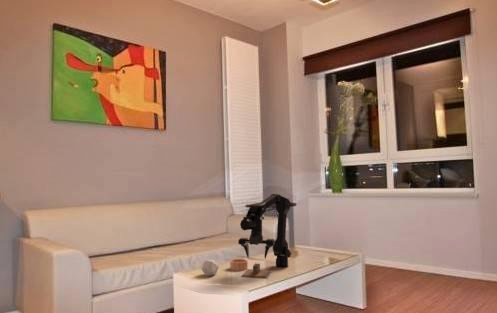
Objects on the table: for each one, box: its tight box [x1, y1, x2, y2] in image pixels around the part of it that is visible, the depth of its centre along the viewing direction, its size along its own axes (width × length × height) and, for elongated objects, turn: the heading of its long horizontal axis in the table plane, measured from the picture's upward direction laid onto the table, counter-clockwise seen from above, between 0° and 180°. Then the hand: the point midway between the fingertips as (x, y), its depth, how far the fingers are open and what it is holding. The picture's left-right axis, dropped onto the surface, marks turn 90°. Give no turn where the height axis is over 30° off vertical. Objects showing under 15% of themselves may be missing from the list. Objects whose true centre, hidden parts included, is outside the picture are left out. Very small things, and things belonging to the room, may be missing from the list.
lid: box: [242, 263, 271, 279], centre depth 194 cm, size 12×12×5 cm
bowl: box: [229, 258, 249, 272], centre depth 206 cm, size 10×10×5 cm
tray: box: [240, 271, 272, 280], centre depth 194 cm, size 14×14×1 cm
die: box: [201, 259, 220, 277], centre depth 194 cm, size 8×9×10 cm
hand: (256, 258), depth 194 cm, fingers open, 9 cm apart
